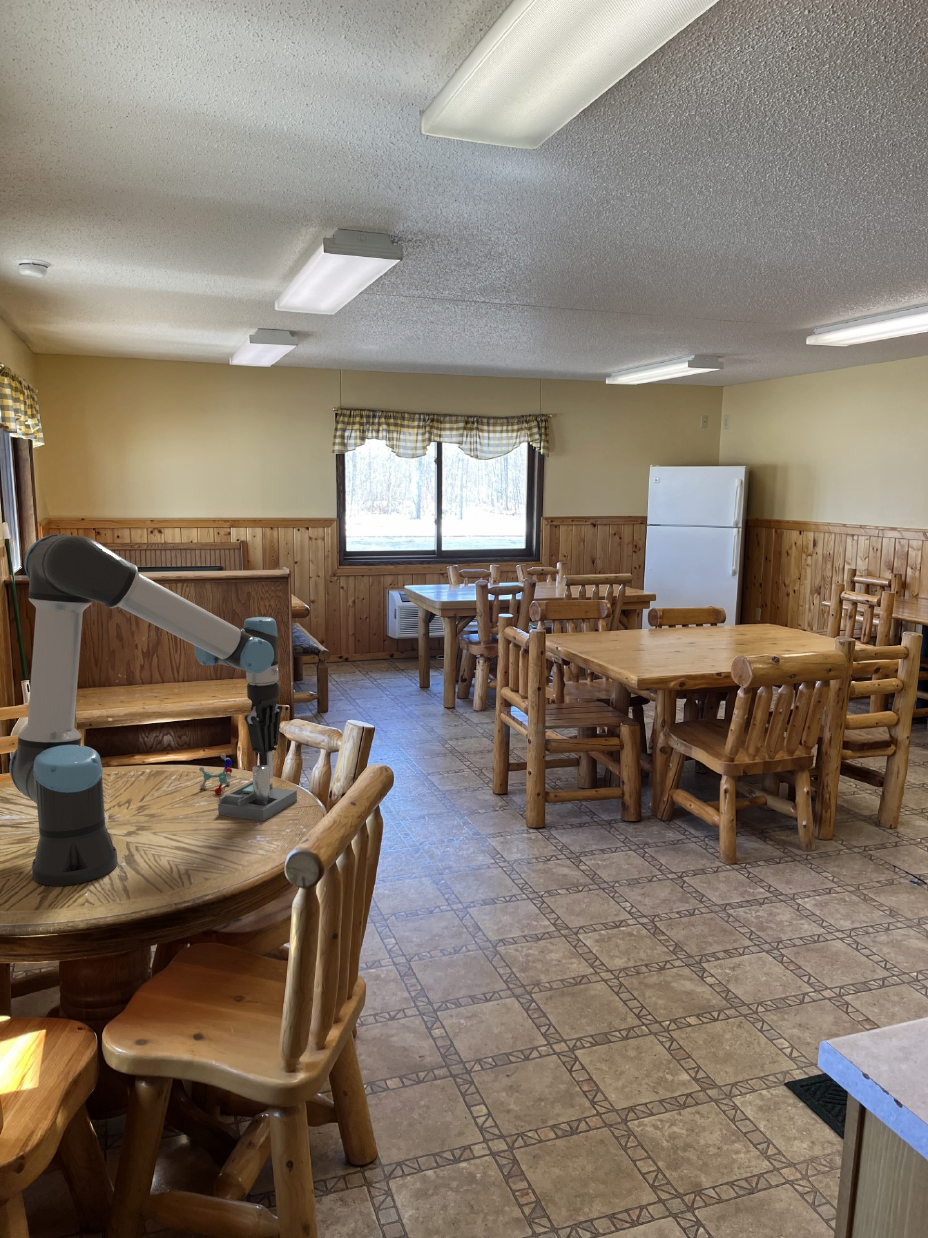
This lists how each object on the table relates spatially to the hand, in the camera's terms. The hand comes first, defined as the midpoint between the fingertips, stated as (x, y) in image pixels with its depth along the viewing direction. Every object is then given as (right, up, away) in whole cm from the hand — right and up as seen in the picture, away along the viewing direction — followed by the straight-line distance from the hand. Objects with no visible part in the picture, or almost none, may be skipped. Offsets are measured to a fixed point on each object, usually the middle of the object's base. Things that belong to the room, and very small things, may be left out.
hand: (266, 777), depth 209 cm
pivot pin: (+2, -5, -11) cm, 13 cm away
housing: (0, -5, -9) cm, 10 cm away
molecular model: (-13, -4, +6) cm, 14 cm away
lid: (-1, -2, -4) cm, 5 cm away
